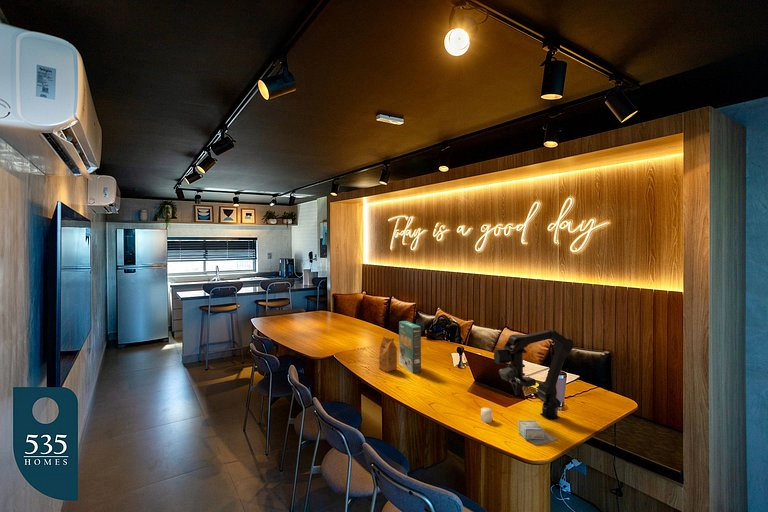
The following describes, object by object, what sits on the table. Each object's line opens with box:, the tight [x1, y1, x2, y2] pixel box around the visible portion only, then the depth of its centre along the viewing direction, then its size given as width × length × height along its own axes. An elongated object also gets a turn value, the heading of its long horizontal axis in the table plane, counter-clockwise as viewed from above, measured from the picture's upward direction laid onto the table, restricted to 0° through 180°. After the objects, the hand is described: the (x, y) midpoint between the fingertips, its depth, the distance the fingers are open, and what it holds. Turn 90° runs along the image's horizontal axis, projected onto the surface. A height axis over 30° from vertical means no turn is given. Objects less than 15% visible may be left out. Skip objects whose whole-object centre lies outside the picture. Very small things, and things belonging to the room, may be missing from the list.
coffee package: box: [378, 335, 398, 373], centre depth 247 cm, size 10×12×22 cm
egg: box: [480, 407, 493, 424], centre depth 173 cm, size 5×5×5 cm
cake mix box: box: [398, 320, 422, 374], centre depth 250 cm, size 22×6×30 cm, turn 22°
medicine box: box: [517, 420, 545, 441], centre depth 158 cm, size 8×4×9 cm
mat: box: [518, 430, 559, 446], centre depth 157 cm, size 12×10×1 cm
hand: (516, 394), depth 173 cm, fingers closed
